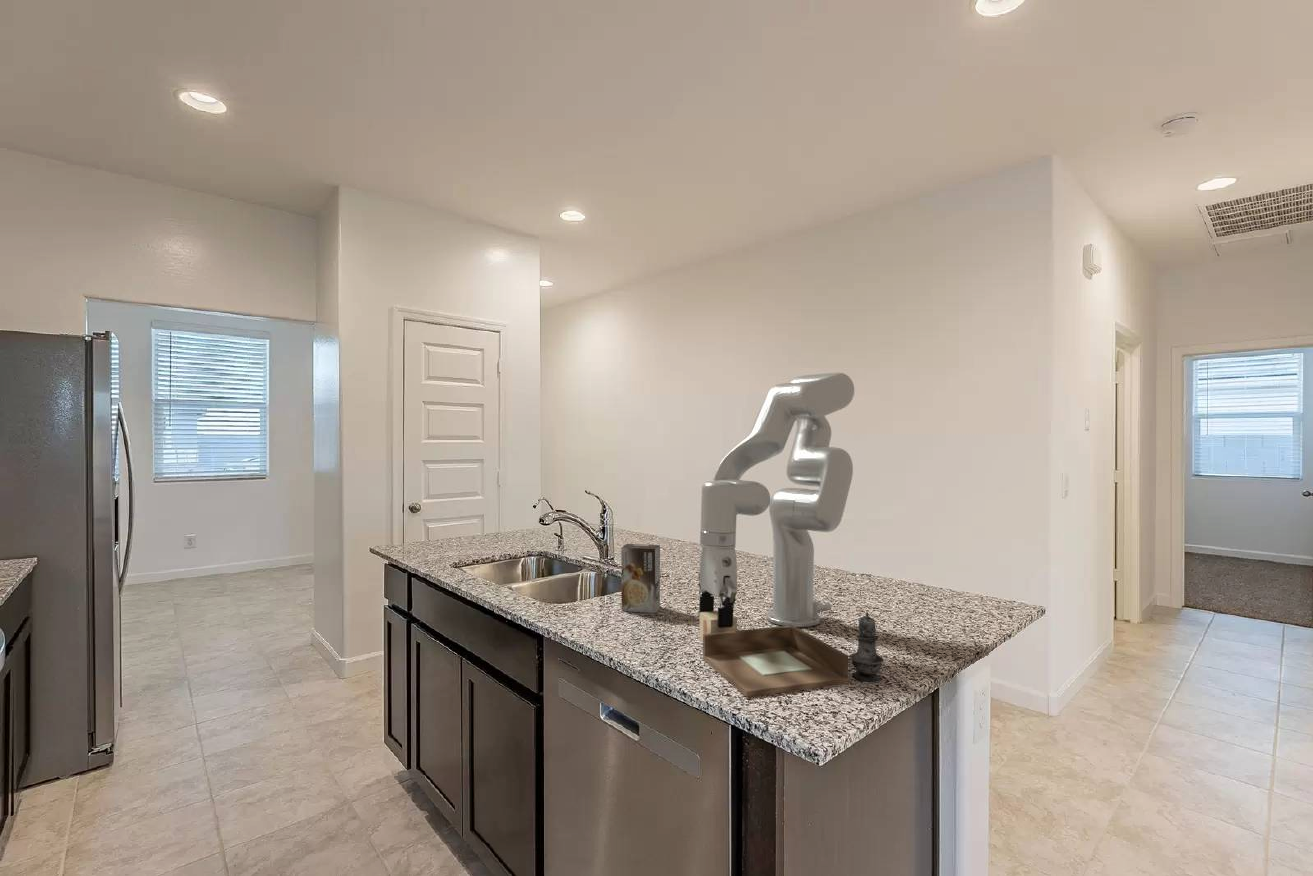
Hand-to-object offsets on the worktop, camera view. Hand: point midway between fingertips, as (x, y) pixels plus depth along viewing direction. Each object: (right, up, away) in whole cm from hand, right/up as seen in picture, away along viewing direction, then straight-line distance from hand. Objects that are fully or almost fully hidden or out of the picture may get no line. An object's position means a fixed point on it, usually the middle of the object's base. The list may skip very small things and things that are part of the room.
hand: (715, 620), depth 133 cm
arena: (+9, -5, -16) cm, 19 cm away
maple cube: (+1, -5, +1) cm, 5 cm away
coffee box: (-16, -5, +27) cm, 32 cm away
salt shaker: (+26, -5, -18) cm, 32 cm away
